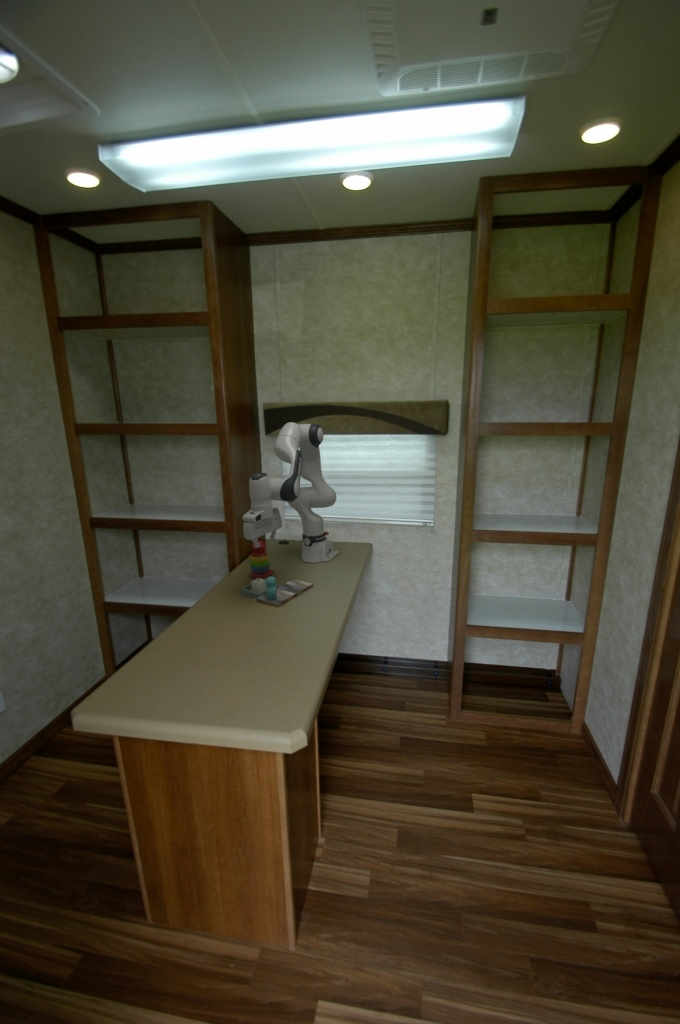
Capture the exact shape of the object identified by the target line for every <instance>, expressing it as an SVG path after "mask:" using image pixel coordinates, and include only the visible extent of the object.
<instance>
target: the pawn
mask: <svg viewBox="0 0 680 1024" xmlns="http://www.w3.org/2000/svg"><path fill="white" fill-rule="evenodd" d="M265 580H266V582H265V583H266V589H267V599H268V600H276V599H277V592H276V584H277V580H276V577H275V576H269V577H267V578H265Z"/></svg>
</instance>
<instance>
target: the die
mask: <svg viewBox="0 0 680 1024" xmlns="http://www.w3.org/2000/svg"><path fill="white" fill-rule="evenodd" d="M265 582H266V579H265V578H264V579H260V578H257V579H253V580H251V583H250V584H251V585H252V591H254V592H258V593H260V592H262V591H264V590H266V583H265Z"/></svg>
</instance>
